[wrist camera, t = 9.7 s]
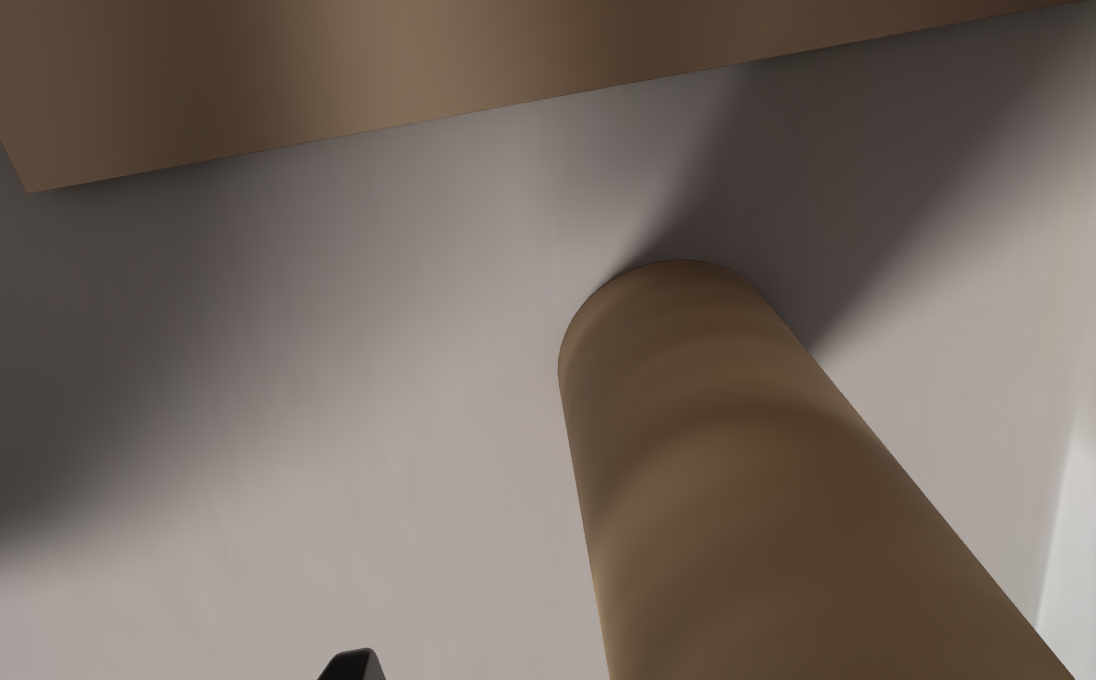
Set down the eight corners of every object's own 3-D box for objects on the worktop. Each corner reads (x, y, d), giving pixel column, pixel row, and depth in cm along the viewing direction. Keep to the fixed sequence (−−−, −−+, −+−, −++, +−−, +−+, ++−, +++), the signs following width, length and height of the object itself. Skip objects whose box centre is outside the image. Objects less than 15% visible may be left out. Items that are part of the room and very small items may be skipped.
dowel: (575, 474, 15) (718, 1294, 6) (540, 282, 13) (669, 1044, 4) (783, 437, 15) (1257, 1201, 6) (777, 240, 13) (1463, 905, 4)
